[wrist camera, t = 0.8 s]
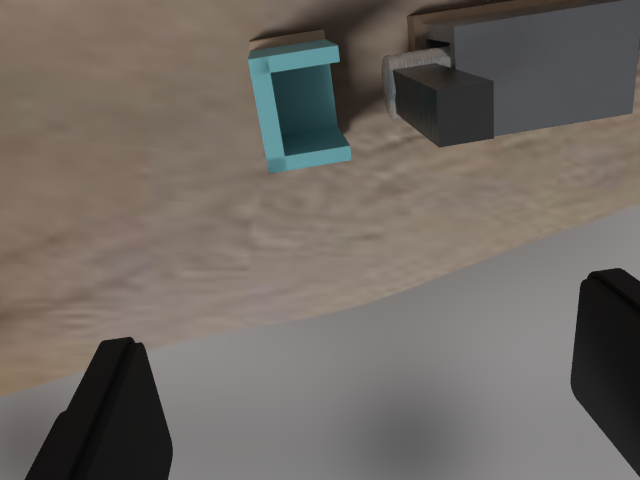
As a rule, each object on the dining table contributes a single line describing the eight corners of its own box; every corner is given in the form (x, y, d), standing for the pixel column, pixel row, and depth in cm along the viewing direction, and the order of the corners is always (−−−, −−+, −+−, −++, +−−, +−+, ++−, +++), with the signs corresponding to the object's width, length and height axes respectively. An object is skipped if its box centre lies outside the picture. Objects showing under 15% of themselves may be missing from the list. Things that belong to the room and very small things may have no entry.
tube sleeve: (575, -11, 34) (654, -16, 27) (569, 100, 37) (639, 120, 30) (407, 16, 33) (444, 17, 27) (414, 125, 36) (449, 152, 29)
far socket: (321, 29, 33) (336, 34, 26) (335, 138, 36) (352, 168, 29) (249, 41, 33) (245, 49, 26) (269, 149, 36) (270, 182, 29)
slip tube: (565, 23, 32) (709, 30, 22) (562, 84, 33) (696, 118, 23) (379, 53, 32) (435, 74, 21) (384, 113, 33) (439, 160, 23)
